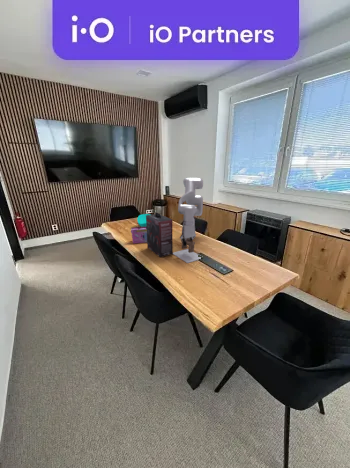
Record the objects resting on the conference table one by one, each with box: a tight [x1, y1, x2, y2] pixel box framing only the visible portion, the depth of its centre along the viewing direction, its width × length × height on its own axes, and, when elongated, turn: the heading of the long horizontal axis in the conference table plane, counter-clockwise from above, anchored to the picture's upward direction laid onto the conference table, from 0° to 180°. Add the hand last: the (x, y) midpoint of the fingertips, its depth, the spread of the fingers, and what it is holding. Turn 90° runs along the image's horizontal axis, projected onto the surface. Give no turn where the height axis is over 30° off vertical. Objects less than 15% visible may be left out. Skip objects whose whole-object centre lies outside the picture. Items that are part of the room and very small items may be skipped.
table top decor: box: [136, 213, 152, 227], centre depth 230 cm, size 40×28×13 cm
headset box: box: [146, 211, 174, 258], centre depth 168 cm, size 25×12×33 cm, turn 32°
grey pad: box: [172, 248, 202, 264], centre depth 164 cm, size 21×16×1 cm
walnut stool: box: [180, 238, 196, 253], centre depth 161 cm, size 6×11×8 cm, turn 34°
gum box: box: [130, 226, 147, 245], centre depth 193 cm, size 24×8×14 cm, turn 105°
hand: (187, 244), depth 161 cm, fingers closed on walnut stool, 5 cm apart
